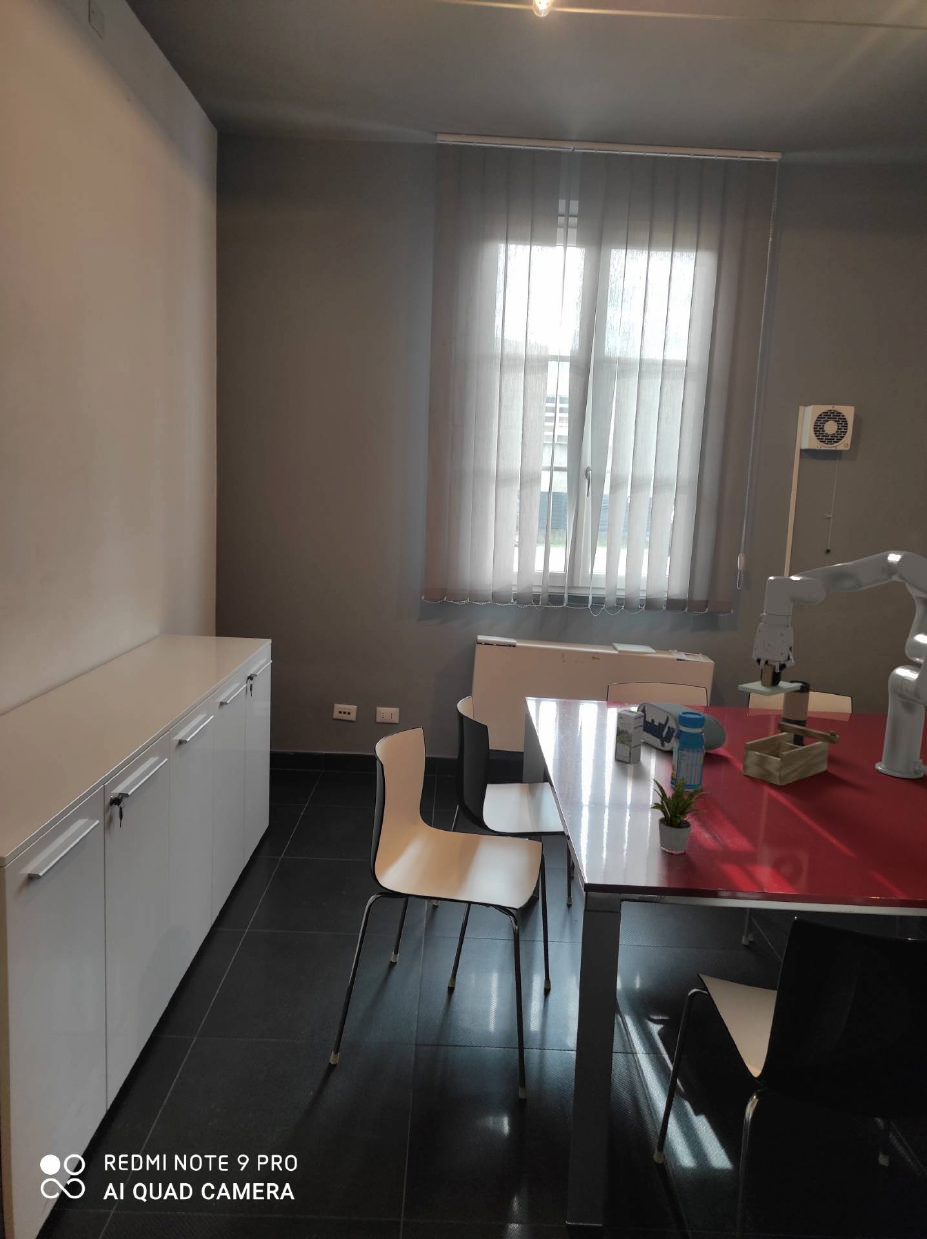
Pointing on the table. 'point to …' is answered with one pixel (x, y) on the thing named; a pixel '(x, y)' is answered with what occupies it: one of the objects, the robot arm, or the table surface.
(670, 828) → the house plant
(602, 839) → the table surface
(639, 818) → the table surface
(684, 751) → the beverage bottle
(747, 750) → the toolbox
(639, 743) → the syrup box
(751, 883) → the table surface
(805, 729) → the wooden bar
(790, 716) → the travel mug
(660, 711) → the grey hat
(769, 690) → the lid
